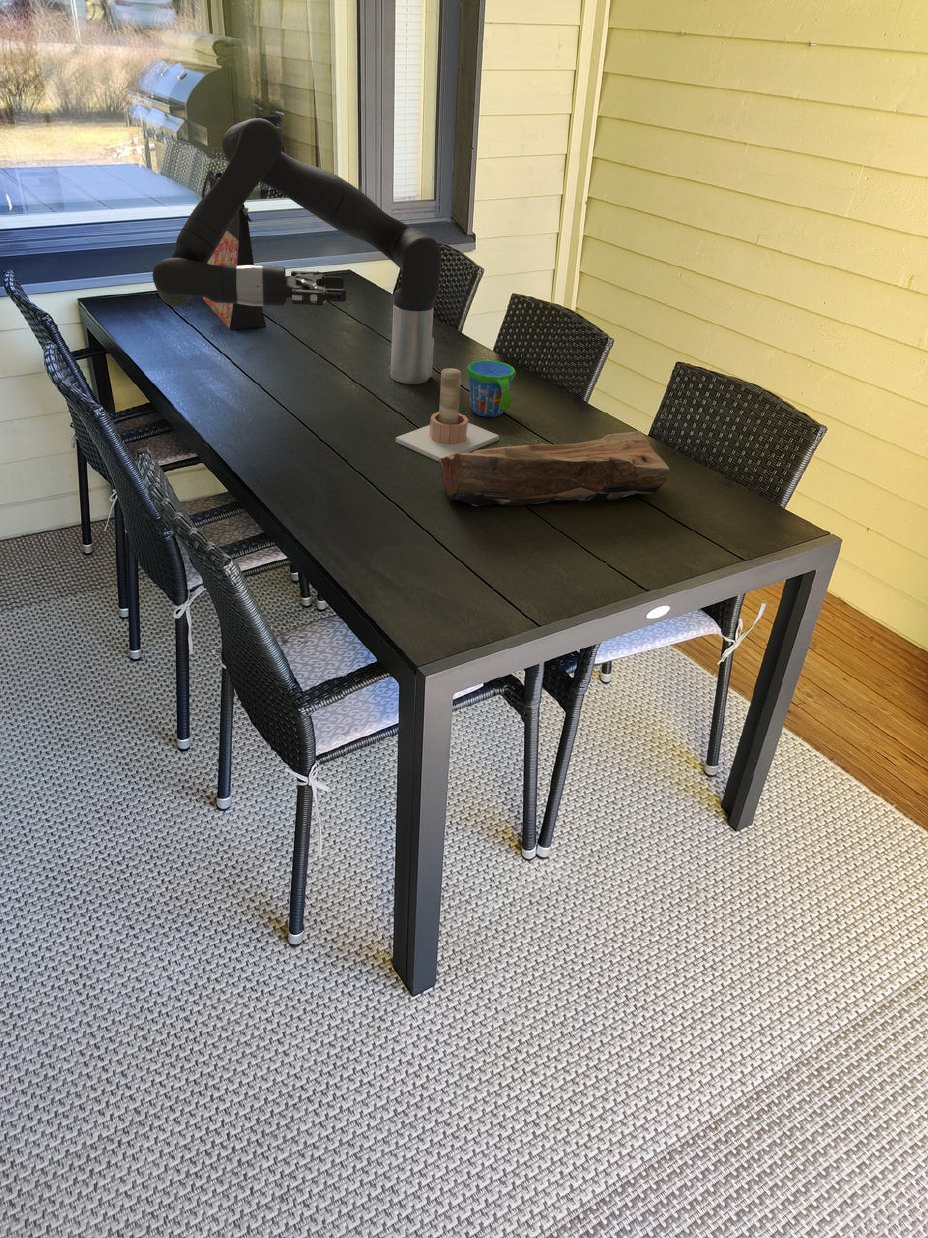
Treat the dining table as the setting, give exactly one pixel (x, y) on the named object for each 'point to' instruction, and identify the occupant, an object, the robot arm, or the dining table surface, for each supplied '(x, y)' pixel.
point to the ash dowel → (449, 396)
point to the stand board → (435, 450)
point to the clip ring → (448, 430)
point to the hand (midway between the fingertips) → (344, 288)
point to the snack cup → (490, 387)
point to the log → (555, 472)
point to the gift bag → (236, 253)
